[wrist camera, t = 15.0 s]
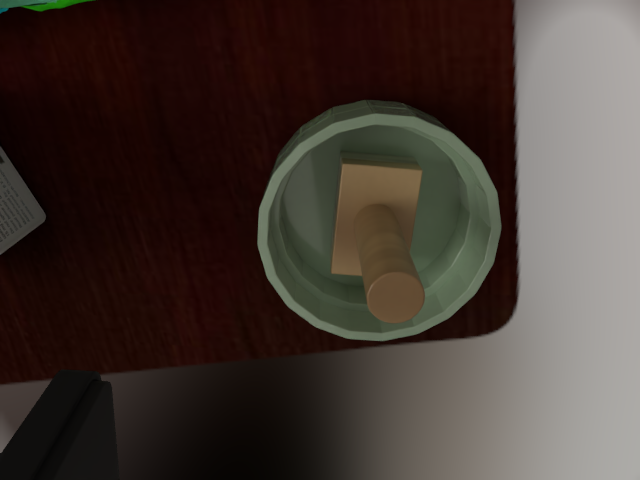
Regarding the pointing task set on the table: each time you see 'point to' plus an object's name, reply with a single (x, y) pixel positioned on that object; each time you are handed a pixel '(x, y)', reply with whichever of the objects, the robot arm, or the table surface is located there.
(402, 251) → the wooden stamp
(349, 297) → the bowl
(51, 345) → the table surface
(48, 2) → the knee model
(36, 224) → the container
